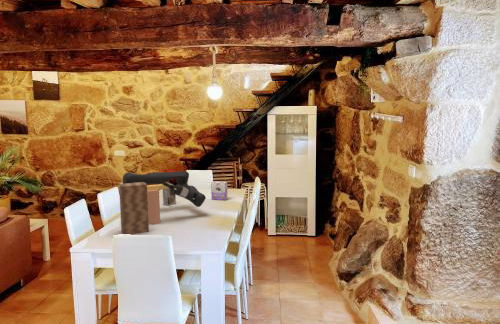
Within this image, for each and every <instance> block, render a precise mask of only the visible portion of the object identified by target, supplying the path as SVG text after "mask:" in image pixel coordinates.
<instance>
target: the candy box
mask: <svg viewBox="0 0 500 324" xmlns="http://www.w3.org/2000/svg"><path fill="white" fill-rule="evenodd" d="M210 184H211V186H210V187H211V188H210V189H211V190H210V191H211V192H210V193H211V200H212V201H227V200H228V197H229V196H228V193H229V192H228V181H223V180H222V181H220V180H218V181H217V180H215V181H214V180H212V181H211V182H210Z"/></svg>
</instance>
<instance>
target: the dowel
mask: <svg viewBox="0 0 500 324" xmlns="http://www.w3.org/2000/svg"><path fill="white" fill-rule="evenodd" d="M163 189H169V188H168V187H167V186H164V185H163V184H147V191H149V190H159V191H160V190H163Z"/></svg>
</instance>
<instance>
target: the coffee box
mask: <svg viewBox="0 0 500 324" xmlns="http://www.w3.org/2000/svg"><path fill="white" fill-rule="evenodd" d="M176 196H177V195H176V194H174V193H173V190H171V189H162V205H163V206H167V207H170V206H173V205H176V204H177V200H176Z"/></svg>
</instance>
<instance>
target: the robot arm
mask: <svg viewBox="0 0 500 324" xmlns="http://www.w3.org/2000/svg"><path fill="white" fill-rule="evenodd" d="M189 178H190V173H189V172H188V171H185V170H180V171H179V170H177V171H167V172H166V171H165V172H160V171H158V172H149V173H146V174H141V173H140V174H136V173H133V172H129V171H128V172H125V173H124V174H123V176H122V184H126V183H137V182H144V183H146V184H147V185H159V184H163V185H164V186H167V187H168V188H169V189H171V190H173V193H174V194H175V195H176V196H177V197H180V198H183V199H185V200H187V201H189V202H190V203H191V204H193V205H194V206H195V207H196V208H197V207H198V208H199V207H202V205H203V203H204V202H205V201H206V199H207V198H206V195H205V194H204V193H202V192H201V191H199V190H198V189H197V187H196V186H194V185H189V183H188V182H189ZM173 179H176V184H173V183H171V182H168V181H170V180H173Z"/></svg>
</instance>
